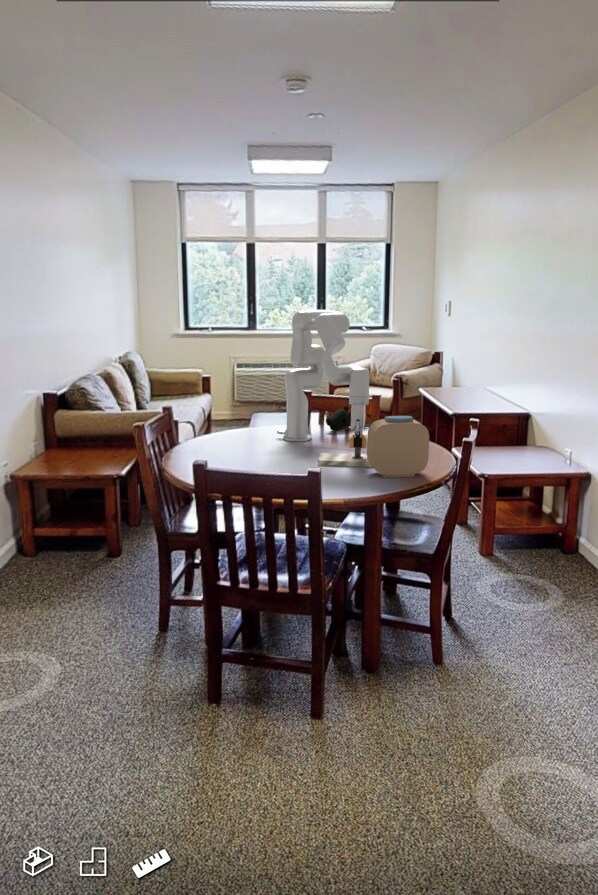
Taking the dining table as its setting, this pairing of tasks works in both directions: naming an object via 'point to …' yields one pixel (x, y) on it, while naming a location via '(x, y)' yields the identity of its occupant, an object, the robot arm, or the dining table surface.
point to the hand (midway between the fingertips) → (358, 445)
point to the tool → (340, 419)
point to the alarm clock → (398, 446)
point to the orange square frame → (364, 441)
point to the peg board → (344, 459)
